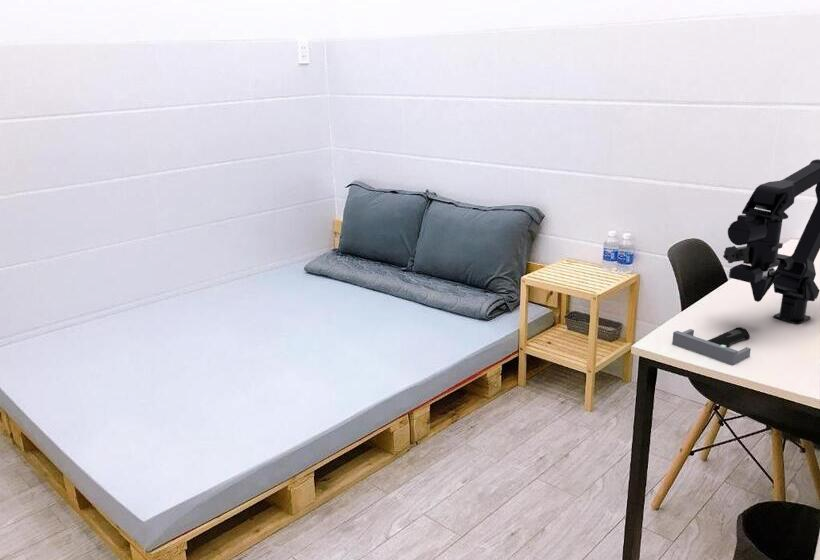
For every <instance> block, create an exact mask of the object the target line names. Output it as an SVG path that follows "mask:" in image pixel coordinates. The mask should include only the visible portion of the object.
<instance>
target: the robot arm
mask: <svg viewBox="0 0 820 560" xmlns="http://www.w3.org/2000/svg"><path fill="white" fill-rule="evenodd" d="M814 186H815V189H814V191H815V195H816V203H815V206H814V208H813V209H812V212H811V213H810V216H809V219H808V221H807V223H806V225H805V227H804V230H803V231H802V234H801V235H800V238H799V240H798V242H797V245H796V246H795V249H794V251H793V253H792V255H786V254H780V253H779V249H782V248H783V247H784V244H783V243H781V242H780V240H781V232H782V227H783V220H786V219H788V218H789V215H788V214H787V213H786V212H785V211H787V210H788V209H789V208H790V207H791V206H793V204H794V203H795V198H796V197H797V196H799V195H801V194H802V193H804V192H807V190H810V189H811V188H813V187H814ZM727 236H728V239H729V241H730V242H731V243H732V244H734V245H733V246H728V247H725V250H724V251H723V253H724V254H722V255H723V259H724V260H726V261H727V263H728V264H732V263H736V262H743V263H739V264H737V265H735V266H733V267H730V269H729V272H728V277H729V278H730V279H732V280H737V281H741V282H745V283H749V284H750V288H751V291H752V292H751V293H752V296H753V300H754V301H755V302H757V303H759V302H761V301H762V299H763V298H764V297H765V295H766V294H767V293H768V291H769V290H770V288H771V287H772V285H773V291H774V293H775V294H780V295H782V296H781V303H780V308H779V312H777V313H776V314H774V315H773V316H772V318H774V319H777V320H782V321H785V322H789V323H793V324H796V325H799V324H803V323H804V321H805V322H806V321H809V320H810V318H811V316H810V315H807V307H808V303H809V302H815V300H816V299H818V297H819V294H820V289H819V287H818V285H817V284H816V282H815V278H816V268H815V263H814V262H815V260H816V258H817V255H818V254H819V251H820V159H819V158H818V159H817V158H816V159H814V160H811V161H810V163H809V164H807V165H806V166H804V167H802V168H801V169H799V170H797V171H796V172H794V173H792V174H790V175H788V176H787V177H784V178H783V179H781V180H774V181H768V182H764V183H761V184H759V185H758V186H757V187H755V190H754V191H753V192H752V194H751V195H750V197H749V199H748V200H747V203H746V204H745V206H744V208H743V210H742V211H741V214H739V215H737V219H736V220H735V221H733V222H731V224H729V227H728V228H727ZM735 245H736V246H738V247H736V246H735ZM745 245H746V246H745ZM775 268H776V269H775Z"/></svg>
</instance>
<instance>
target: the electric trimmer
mask: <svg viewBox="0 0 820 560" xmlns="http://www.w3.org/2000/svg"><path fill="white" fill-rule="evenodd" d="M750 338H751V336H750V333H749V331H748V330H747V329H746V328H744V327H741V326H740V327H739V326H737V327H735V328H733V329H731V330H729V331H725V332H724V333H723V332H722V334H719V335H717V336H714V337H711V338H709V339H707V341H710V342H713V343H716V344H719V345H726V347H728V348H730V347H729V346H730V345H731V344H733V343H737V342H739V341H742V340H746V341H748V339H749V340H750Z"/></svg>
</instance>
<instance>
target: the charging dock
mask: <svg viewBox="0 0 820 560" xmlns="http://www.w3.org/2000/svg"><path fill="white" fill-rule="evenodd" d="M694 333H695V330H694V329H693V328H692V329H691V328H689V329H686V330H684V331H679V330H675V331H673V332H672V342H671V344H672V345H674V346H677V347H680V348H683V349H685V350H688V351H691V352H694V353H696V354H697V353H698V354H699V355H702V356H706V357H708V358H711V359H714V360H717V361H720V362H722V363H726V364H728V365H731V366H734V365H735V364H736V365H737V364H738V363H740V362H742V361H744V360H745V359H748V358H750V356H751V350H752V348H751V347H747V346H746V347H744V348H742V349H739V350H737V349H733V348H731V347H726V345H719V344H716V343H713V342H710V341H707V340H708V339H707V340H706V339H703V338H701V337H698V336H697V337H696V336H694V335H695V334H694Z"/></svg>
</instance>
